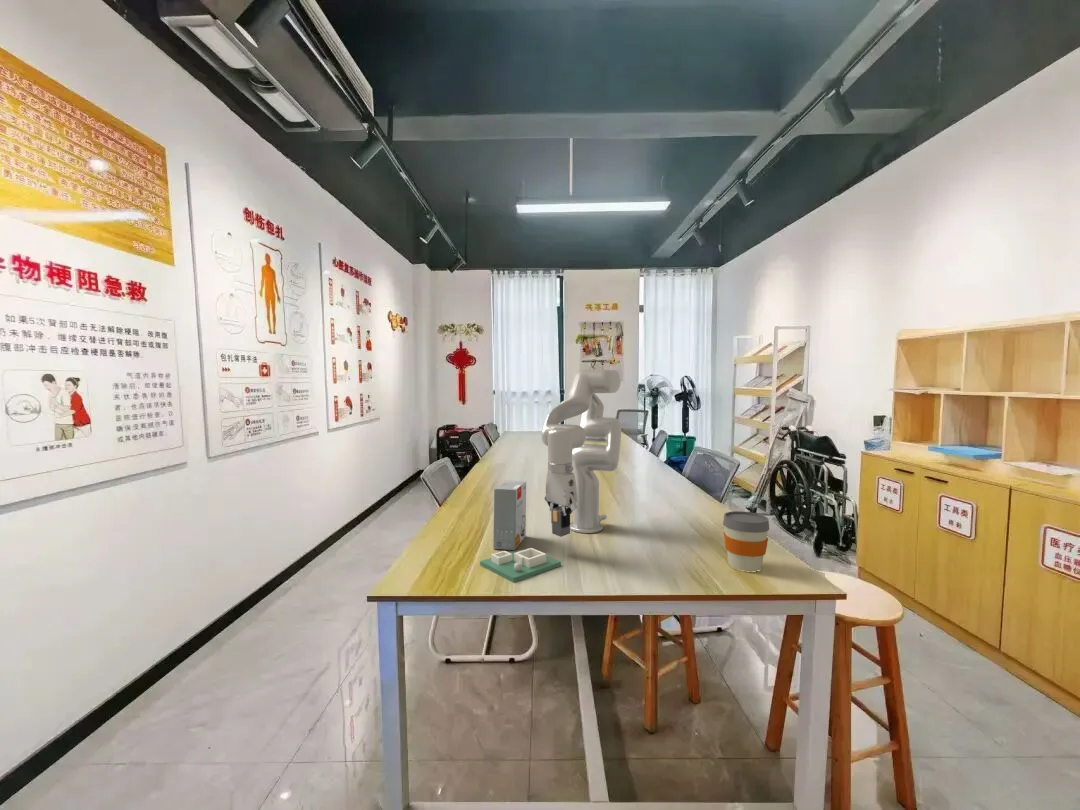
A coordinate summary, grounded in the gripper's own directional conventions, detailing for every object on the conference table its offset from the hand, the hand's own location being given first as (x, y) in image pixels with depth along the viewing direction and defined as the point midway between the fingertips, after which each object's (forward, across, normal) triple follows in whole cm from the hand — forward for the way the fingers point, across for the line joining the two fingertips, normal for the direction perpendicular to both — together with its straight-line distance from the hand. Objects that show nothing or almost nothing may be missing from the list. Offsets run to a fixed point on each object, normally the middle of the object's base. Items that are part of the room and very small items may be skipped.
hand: (560, 524), depth 148 cm
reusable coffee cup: (+11, -43, -34) cm, 56 cm away
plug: (+3, 0, 0) cm, 3 cm away
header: (+8, -1, +14) cm, 16 cm away
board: (+9, +1, +16) cm, 18 cm away
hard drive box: (+10, +19, +6) cm, 22 cm away
